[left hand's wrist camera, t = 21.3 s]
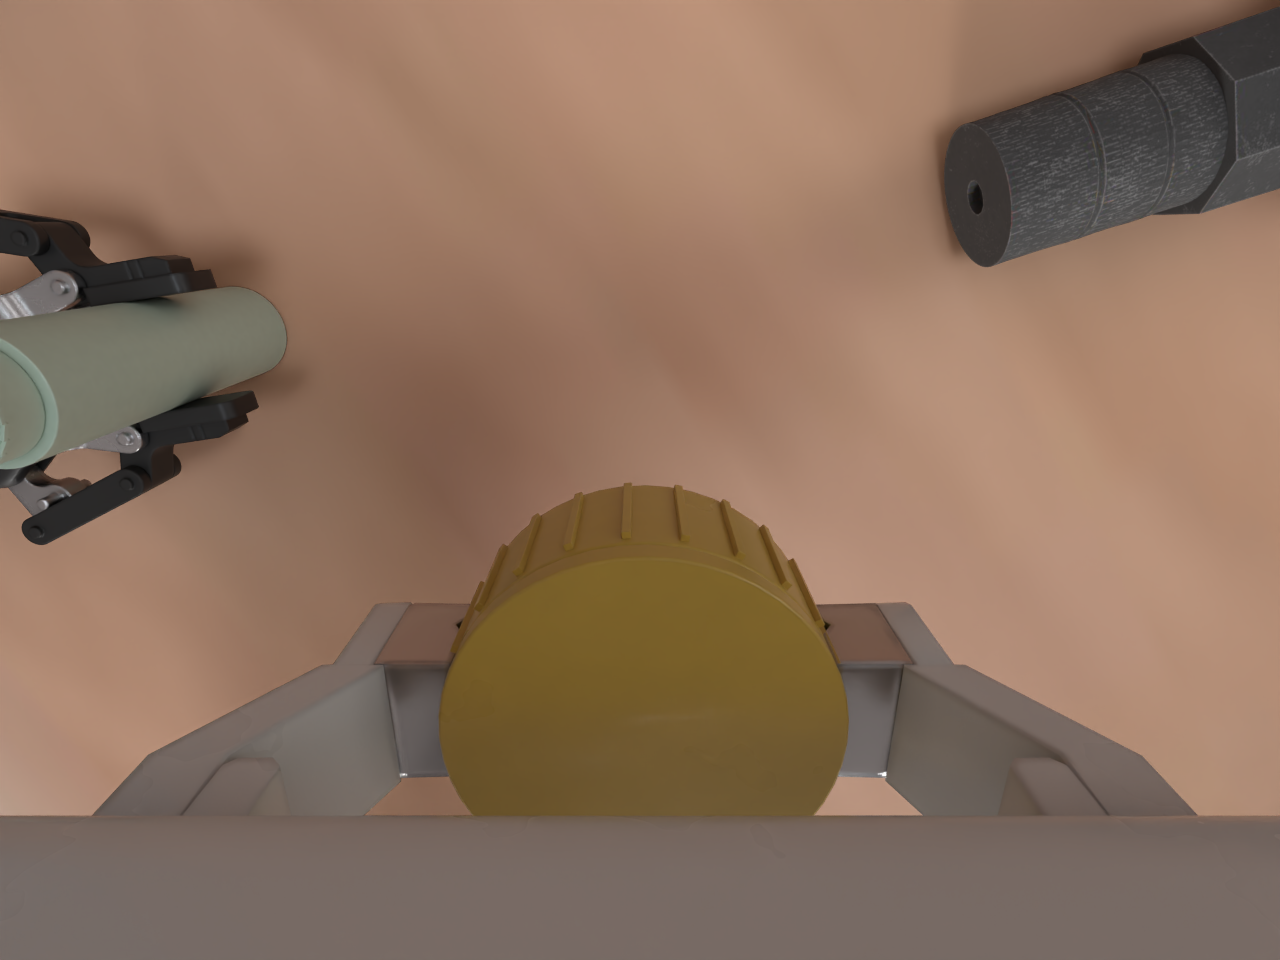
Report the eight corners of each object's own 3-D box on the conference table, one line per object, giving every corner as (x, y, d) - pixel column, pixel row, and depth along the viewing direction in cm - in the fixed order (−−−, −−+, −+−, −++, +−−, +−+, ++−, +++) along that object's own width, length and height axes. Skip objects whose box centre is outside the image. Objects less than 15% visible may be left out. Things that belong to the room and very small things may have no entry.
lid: (408, 660, 10) (350, 769, 8) (611, 405, 9) (603, 459, 7) (666, 818, 12) (672, 948, 9) (882, 612, 10) (945, 712, 8)
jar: (301, 363, 33) (29, 473, 18) (222, 384, 34) (-109, 509, 19) (264, 276, 32) (-64, 319, 17) (182, 299, 32) (-211, 361, 17)
